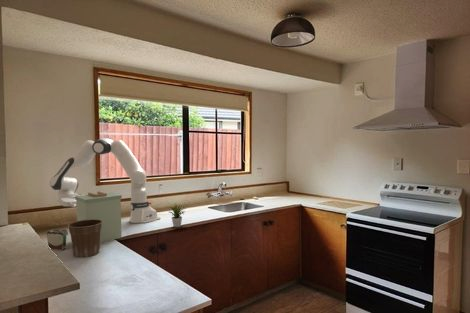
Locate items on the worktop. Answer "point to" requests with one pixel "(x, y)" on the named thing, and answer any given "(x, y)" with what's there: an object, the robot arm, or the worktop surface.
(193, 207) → the worktop surface
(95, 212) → the toolbox
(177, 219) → the house plant
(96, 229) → the plant pot
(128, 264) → the worktop surface
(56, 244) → the food container
